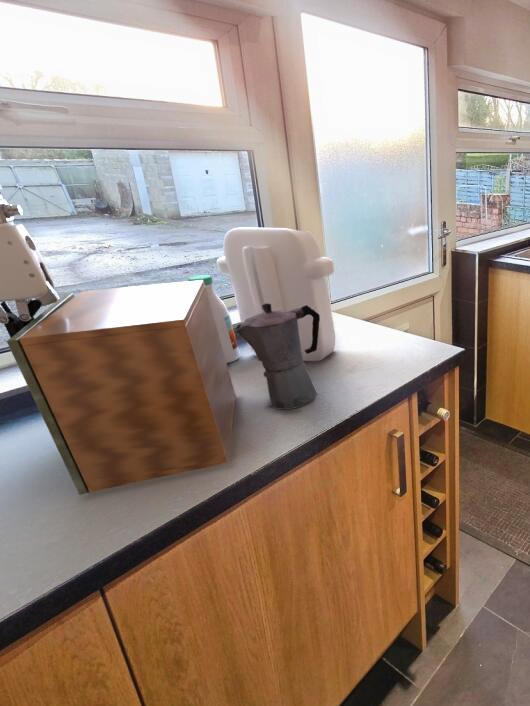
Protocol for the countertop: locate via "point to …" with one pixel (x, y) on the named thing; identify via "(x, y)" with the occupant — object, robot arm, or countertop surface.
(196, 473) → the countertop surface
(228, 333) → the milk bottle
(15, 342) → the cupboard door
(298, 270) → the toaster
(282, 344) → the moka pot
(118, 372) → the cupboard
